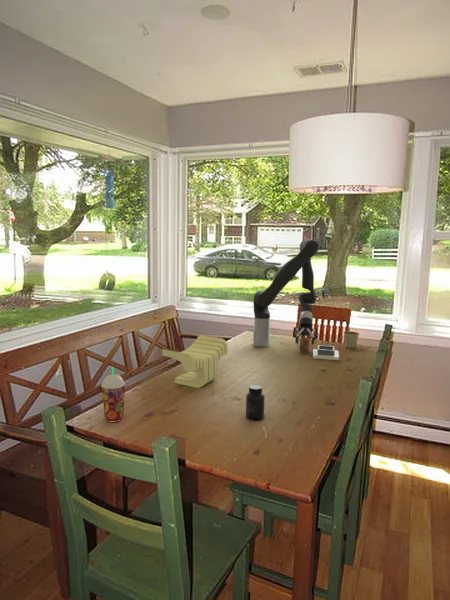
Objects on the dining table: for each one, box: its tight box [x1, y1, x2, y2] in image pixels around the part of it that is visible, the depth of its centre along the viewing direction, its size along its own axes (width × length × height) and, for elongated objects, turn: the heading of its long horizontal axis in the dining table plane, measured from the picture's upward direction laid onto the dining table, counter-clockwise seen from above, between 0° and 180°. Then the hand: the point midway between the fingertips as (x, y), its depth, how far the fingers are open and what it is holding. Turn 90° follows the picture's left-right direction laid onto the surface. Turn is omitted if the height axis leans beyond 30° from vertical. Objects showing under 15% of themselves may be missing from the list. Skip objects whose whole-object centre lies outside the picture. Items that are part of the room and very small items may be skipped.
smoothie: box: [100, 366, 126, 421], centre depth 157 cm, size 8×8×20 cm
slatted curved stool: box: [161, 334, 229, 389], centre depth 198 cm, size 30×16×18 cm, turn 151°
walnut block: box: [299, 336, 310, 354], centre depth 250 cm, size 5×4×8 cm
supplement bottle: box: [245, 384, 266, 422], centre depth 161 cm, size 7×7×12 cm
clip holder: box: [312, 345, 340, 361], centre depth 242 cm, size 14×14×4 cm
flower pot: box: [342, 330, 360, 349], centre depth 261 cm, size 9×9×9 cm
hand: (304, 343), depth 248 cm, fingers open, 8 cm apart
